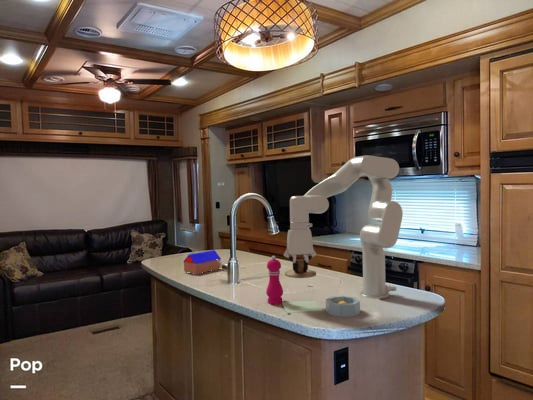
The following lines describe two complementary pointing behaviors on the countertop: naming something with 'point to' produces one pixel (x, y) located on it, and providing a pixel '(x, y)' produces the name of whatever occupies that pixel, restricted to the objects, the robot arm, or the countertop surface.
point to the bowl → (342, 306)
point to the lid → (300, 271)
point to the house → (202, 262)
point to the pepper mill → (274, 282)
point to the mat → (301, 306)
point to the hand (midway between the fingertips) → (300, 271)
